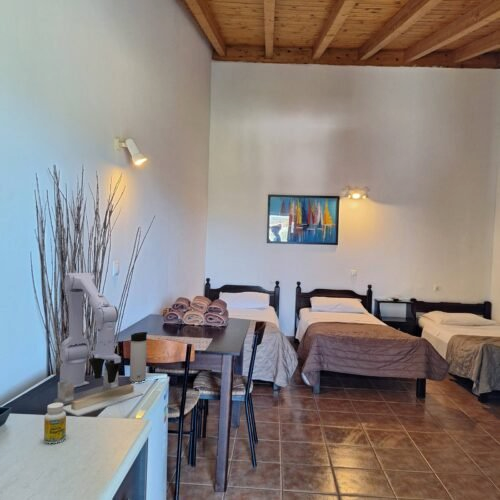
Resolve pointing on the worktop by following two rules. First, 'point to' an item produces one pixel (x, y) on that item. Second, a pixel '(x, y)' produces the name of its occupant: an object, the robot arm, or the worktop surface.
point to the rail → (101, 397)
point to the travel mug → (138, 357)
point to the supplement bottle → (55, 423)
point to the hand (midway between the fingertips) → (104, 380)
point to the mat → (102, 404)
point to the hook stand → (68, 395)
